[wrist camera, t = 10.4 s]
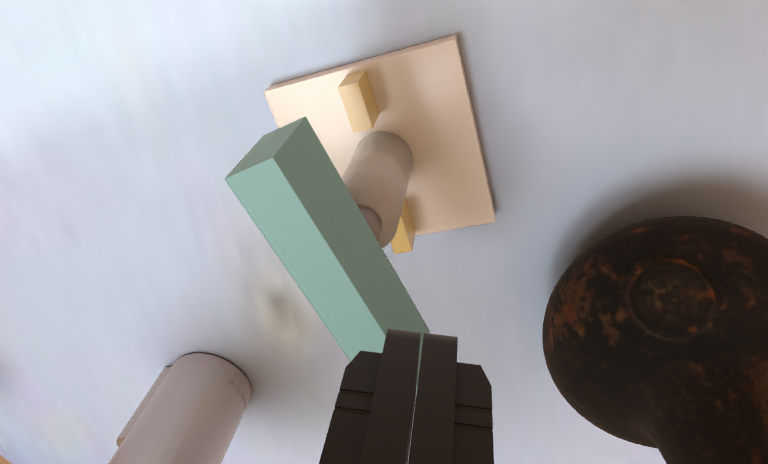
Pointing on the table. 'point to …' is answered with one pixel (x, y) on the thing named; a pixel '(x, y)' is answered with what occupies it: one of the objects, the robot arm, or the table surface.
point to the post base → (414, 116)
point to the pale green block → (324, 238)
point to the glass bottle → (668, 339)
